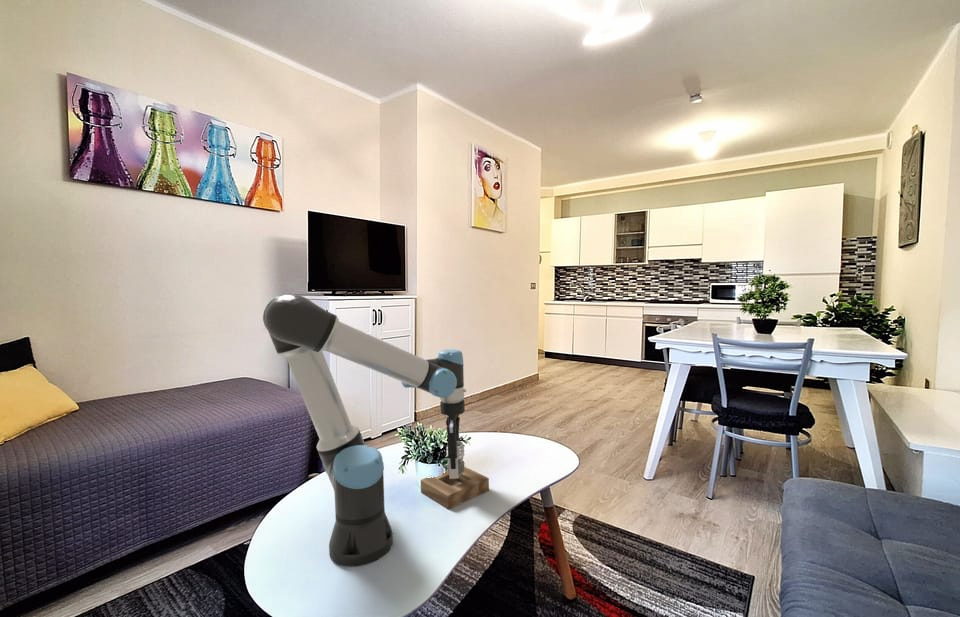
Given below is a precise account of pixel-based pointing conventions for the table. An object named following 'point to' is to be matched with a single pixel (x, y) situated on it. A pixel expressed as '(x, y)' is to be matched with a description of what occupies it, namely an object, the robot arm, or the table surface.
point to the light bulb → (460, 460)
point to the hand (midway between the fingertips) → (454, 473)
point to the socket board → (455, 487)
